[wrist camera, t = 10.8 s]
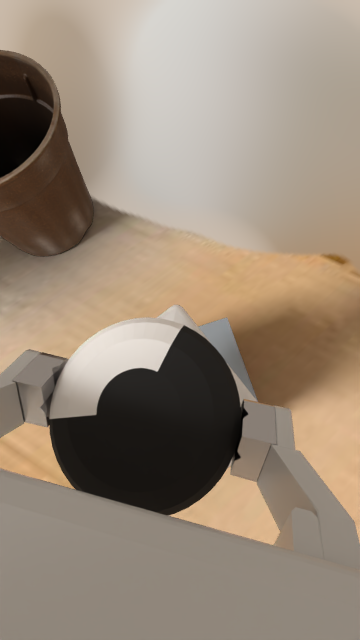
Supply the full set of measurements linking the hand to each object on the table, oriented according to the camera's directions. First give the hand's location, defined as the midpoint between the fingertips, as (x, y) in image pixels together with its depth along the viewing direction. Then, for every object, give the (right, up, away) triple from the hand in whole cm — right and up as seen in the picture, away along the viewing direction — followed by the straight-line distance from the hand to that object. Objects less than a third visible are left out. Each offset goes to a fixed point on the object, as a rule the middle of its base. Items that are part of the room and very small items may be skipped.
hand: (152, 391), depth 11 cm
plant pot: (-16, +17, +34) cm, 41 cm away
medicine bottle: (+1, -3, +10) cm, 10 cm away
